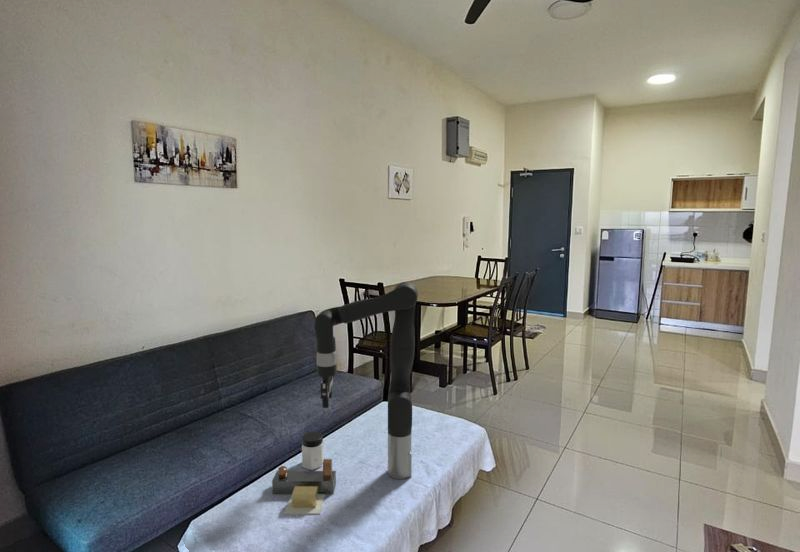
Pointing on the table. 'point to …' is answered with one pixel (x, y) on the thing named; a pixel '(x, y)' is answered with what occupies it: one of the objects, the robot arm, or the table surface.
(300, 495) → the lever cap
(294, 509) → the felt mat
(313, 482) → the body
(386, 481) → the table surface
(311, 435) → the jar
